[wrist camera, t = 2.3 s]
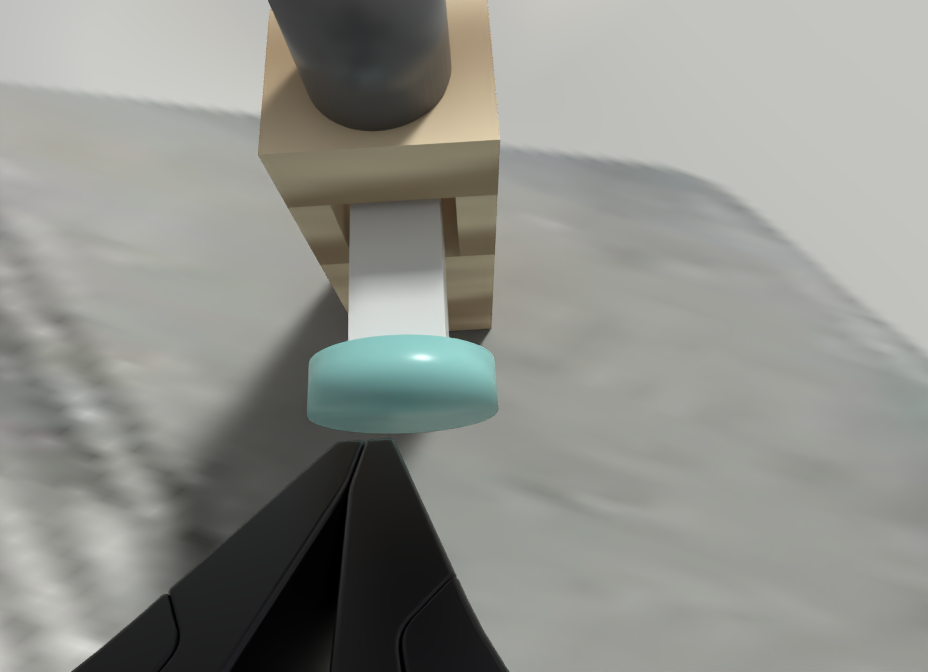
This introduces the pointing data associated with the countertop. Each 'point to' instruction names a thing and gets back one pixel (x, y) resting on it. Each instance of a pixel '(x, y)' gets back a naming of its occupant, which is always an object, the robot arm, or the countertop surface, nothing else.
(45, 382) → the countertop surface
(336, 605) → the robot arm
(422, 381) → the knob
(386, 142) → the mount
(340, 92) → the dial
